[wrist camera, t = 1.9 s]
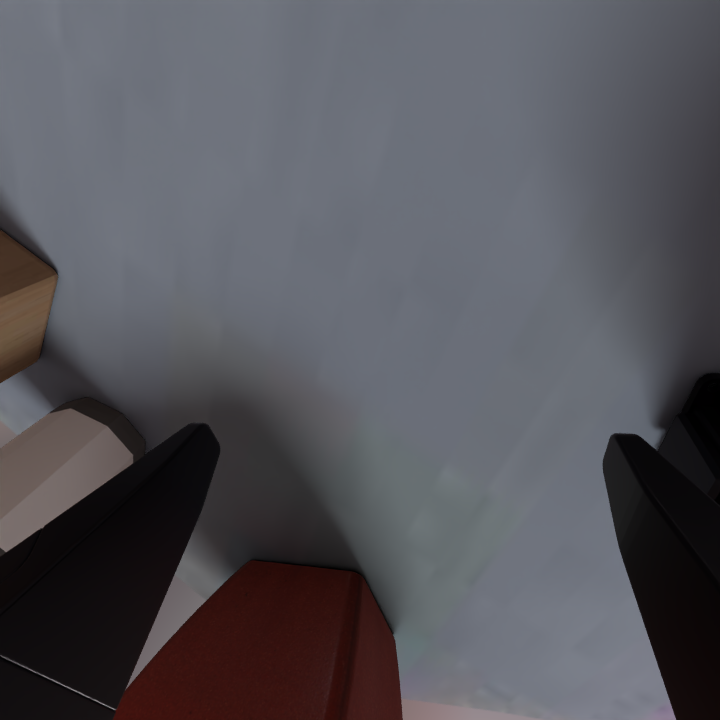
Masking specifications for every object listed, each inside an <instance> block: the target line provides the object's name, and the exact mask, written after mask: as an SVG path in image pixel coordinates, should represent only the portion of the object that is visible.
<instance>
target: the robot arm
mask: <svg viewBox="0 0 720 720" xmlns="http://www.w3.org/2000/svg"><path fill="white" fill-rule="evenodd" d="M713 383H717V384H716V385H714V386H712V387H708V386H709V385H710V384H713ZM219 454H220V444H219V442H218V441H217V439H216V437H215V435H214V434H213V432H212V430H211V429H210V427H209V426H208V425H207V424H206V423H190V424H188V425H187V426H185V427H184V428H182V429H181V430H180V431H178V432H177V433H175V434H174V435H172V436H171V437H170V438H168V439H167V440H165V441H164V442H162V443H161V444H160V445H158V446H157V447H155V448H154V449H153V450H151V451H150V452H148V453H147V454H145V455H144V456H143V457H141V458H140V459H138V460H137V461H136V462H134V463H133V464H131V465H130V466H128V467H127V468H126V469H124V470H123V471H121V472H120V473H118V474H117V475H116V476H114V477H113V478H111V479H110V480H109V481H107V482H106V483H104V484H103V485H101V486H100V487H99V488H97V489H96V490H94V491H93V492H91V493H90V494H89V495H87V496H86V497H84V498H83V499H82V500H80V501H79V502H77V503H76V504H74V505H73V506H72V507H70V508H69V509H67V510H66V511H64V512H63V513H62V514H60V515H59V516H57V517H56V518H55V519H53V520H52V521H50V522H49V523H47V524H46V525H45V526H44V527H43V528H40V529H39V530H37V531H36V532H35V533H33V534H32V535H30V536H29V537H28V538H26V539H25V540H23V541H22V542H20V543H19V544H17V545H16V546H15V547H13V548H12V549H10V550H9V551H7V552H6V553H4V554H3V555H1V556H0V720H113V718H114V716H115V713H116V711H115V710H117V708H118V706H119V703H120V701H121V699H122V696H123V694H124V692H125V689H126V687H127V685H128V682H129V680H130V677H131V675H132V673H133V671H134V668H135V666H136V664H137V661H138V659H139V656H140V654H141V652H142V649H143V647H144V645H145V642H146V640H147V638H148V635H149V633H150V631H151V628H152V626H153V624H154V621H155V619H156V617H157V614H158V611H159V610H160V607H161V605H162V602H163V600H164V598H165V595H166V593H167V591H168V588H169V586H170V584H171V581H172V579H173V576H174V574H175V572H176V570H177V567H178V565H179V563H180V560H181V558H182V556H183V553H184V551H185V548H186V546H187V544H188V541H189V539H190V537H191V534H192V532H193V530H194V527H195V525H196V523H197V520H198V518H199V515H200V513H201V510H202V508H203V505H204V502H205V499H206V496H207V492H208V489H209V486H210V483H211V480H212V477H213V473H214V470H215V467H216V464H217V461H218V458H219ZM603 473H604V478H605V483H606V488H607V493H608V498H609V503H610V507H611V512H612V517H613V522H614V527H615V532H616V536H617V541H618V545H619V549H620V552H621V555H622V559H623V562H624V565H625V568H626V571H627V574H628V577H629V580H630V583H631V586H632V589H633V592H634V595H635V598H636V601H637V604H638V607H639V610H640V613H641V616H642V619H643V622H644V625H645V628H646V631H647V634H648V637H649V640H650V643H651V646H652V649H653V652H654V655H655V658H656V661H657V664H658V667H659V670H660V673H661V676H662V679H663V682H664V685H665V688H666V691H667V694H668V697H669V700H670V703H671V706H672V709H673V712H674V715H675V718H676V720H720V374H719V373H710V374H706V375H704V376H702V377H700V378H699V379H698V381H697V382H696V384H695V386H694V388H693V390H692V392H691V394H690V396H689V398H688V400H687V402H686V404H685V406H684V408H683V409H682V411H681V413H679V414H678V415H677V416H676V417H675V419H674V421H673V423H672V425H671V427H670V429H669V431H668V433H667V435H666V437H665V439H664V441H663V443H662V445H661V447H660V449H659V452H658V451H656V450H655V449H654V448H653V447H652V446H651V445H649V444H648V443H647V442H646V441H645V440H644V439H643V438H641V437H640V436H638V435H636V434H622V433H615V434H613V435H611V437H610V439H609V442H608V445H607V449H606V452H605V455H604V458H603Z"/></svg>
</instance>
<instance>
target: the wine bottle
mask: <svg viewBox="0 0 720 720" xmlns="http://www.w3.org/2000/svg"><path fill="white" fill-rule="evenodd" d="M144 455H145V440H144V439H143V438H142V436H141V435H140V434H139V433H138V432H137V431H136V429H135V428H134V427H133V426H132V425H131V424H130V422H129V421H128V420H127V419H126V418H125V416H124V415H123V414H122V413H120V412H118V411H116V410H114V409H112V408H110V407H108V406H105V405H103V404H101V403H99V402H97V401H95V400H93V399H91V398H89V397H86V398H82V399H78V400H74V401H70V402H66V403H65V404H63V405H61V406H59V407H57V408H56V409H54V410H53V411H51V412H50V413H49V414H47V415H46V416H44V417H43V418H42V419H40V420H39V421H38V422H36V423H35V424H33V425H32V426H31V427H29V428H28V429H27V430H25V431H24V432H22V433H21V434H20V435H18V436H17V437H16V438H14V439H13V440H11V441H10V442H9V443H7V444H6V445H5V446H3V447H2V448H0V556H1V555H3V554H4V553H6V552H7V551H9V550H10V549H12V548H13V547H15V546H16V545H17V544H19V543H20V542H22V541H23V540H25V539H26V538H28V537H29V536H30V535H32V534H33V533H35V532H36V531H37V530H39V529H40V528H43V527H44V526H45V525H46V524H47V523H49V522H50V521H52V520H53V519H55V518H56V517H57V516H59V515H60V514H62V513H63V512H64V511H66V510H67V509H69V508H70V507H72V506H73V505H74V504H76V503H77V502H79V501H80V500H82V499H83V498H84V497H86V496H87V495H89V494H90V493H91V492H93V491H94V490H96V489H97V488H99V487H100V486H101V485H103V484H104V483H106V482H107V481H109V480H110V479H111V478H113V477H114V476H116V475H117V474H118V473H120V472H121V471H123V470H124V469H126V468H127V467H128V466H130V465H131V464H133V463H134V462H136V461H137V460H138V459H140V458H141V457H143V456H144Z"/></svg>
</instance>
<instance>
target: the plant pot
mask: <svg viewBox="0 0 720 720" xmlns="http://www.w3.org/2000/svg"><path fill="white" fill-rule="evenodd" d="M115 711H116V713H115V716H114V718H113V720H403V718H402V705H401V692H400V681H399V669H398V661H397V652H396V644H395V639H394V636H393V634H392V633H391V631H390V629H389V627H388V625H387V623H386V621H385V619H384V617H383V615H382V613H381V611H380V609H379V607H378V605H377V603H376V601H375V599H374V597H373V595H372V593H371V591H370V589H369V587H368V586H367V584H366V582H365V580H364V578H363V577H362V576H361V575H359V574H357V573H355V572H351V571H344V570H335V569H326V568H318V567H309V566H300V565H291V564H282V563H273V562H263V561H254V560H251V561H248V562H247V563H246V564H245V565H243V566H242V567H241V568H240V569H239V570H238V571H237V572H235V573H234V574H233V575H232V576H231V577H230V578H229V579H228V580H227V581H226V582H225V583H224V584H223V585H222V586H221V587H220V588H219V589H218V590H217V591H216V592H215V593H214V594H213V595H212V596H211V597H210V598H209V599H208V600H207V601H206V602H205V603H204V604H203V605H202V606H201V607H199V608H198V609H197V611H196V612H195V613H194V614H193V615H192V616H191V617H190V618H189V619H188V620H187V621H186V622H185V623H184V624H183V625H182V626H181V627H180V628H179V630H178V631H177V632H176V633H175V634H174V635H173V636H172V637H171V638H170V639H169V640H168V642H167V643H166V644H165V645H164V646H163V647H162V648H161V649H160V651H159V652H158V653H157V654H156V655H155V656H154V657H153V658H152V660H151V661H150V662H149V663H148V664H147V665H146V666H145V668H144V669H143V670H142V671H141V672H140V674H139V675H138V676H137V677H136V678H135V680H134V681H133V682H132V683H131V684H130V686H129V687H128V688H127V689H126V690H125V692H124V694H123V696H122V699H121V701H120V703H119V706H118V708H117V710H115Z"/></svg>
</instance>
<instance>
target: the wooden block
mask: <svg viewBox="0 0 720 720" xmlns="http://www.w3.org/2000/svg"><path fill="white" fill-rule="evenodd" d="M57 280H58V276H57V273H56V272H55V271H54V269H52V268H51V267H50V266H48V265H47V264H46V263H44V262H43V261H42V260H40V259H39V258H38V257H36V256H35V255H34V254H32V253H31V252H30V251H28V250H27V249H26V248H24V247H23V246H22V245H20V244H19V243H17V242H16V241H15V240H13V239H12V238H11V237H9V236H8V235H7V234H5V233H4V232H3V231H1V230H0V383H1V382H3V381H5V380H6V379H8V378H10V377H11V376H13V375H15V374H17V373H18V372H20V371H22V370H23V369H25V368H27V367H28V366H30V365H32V364H33V363H35V362H37V360H38V359H39V356H40V352H41V348H42V344H43V339H44V335H45V331H46V327H47V322H48V318H49V314H50V310H51V305H52V301H53V297H54V293H55V288H56V284H57Z"/></svg>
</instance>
